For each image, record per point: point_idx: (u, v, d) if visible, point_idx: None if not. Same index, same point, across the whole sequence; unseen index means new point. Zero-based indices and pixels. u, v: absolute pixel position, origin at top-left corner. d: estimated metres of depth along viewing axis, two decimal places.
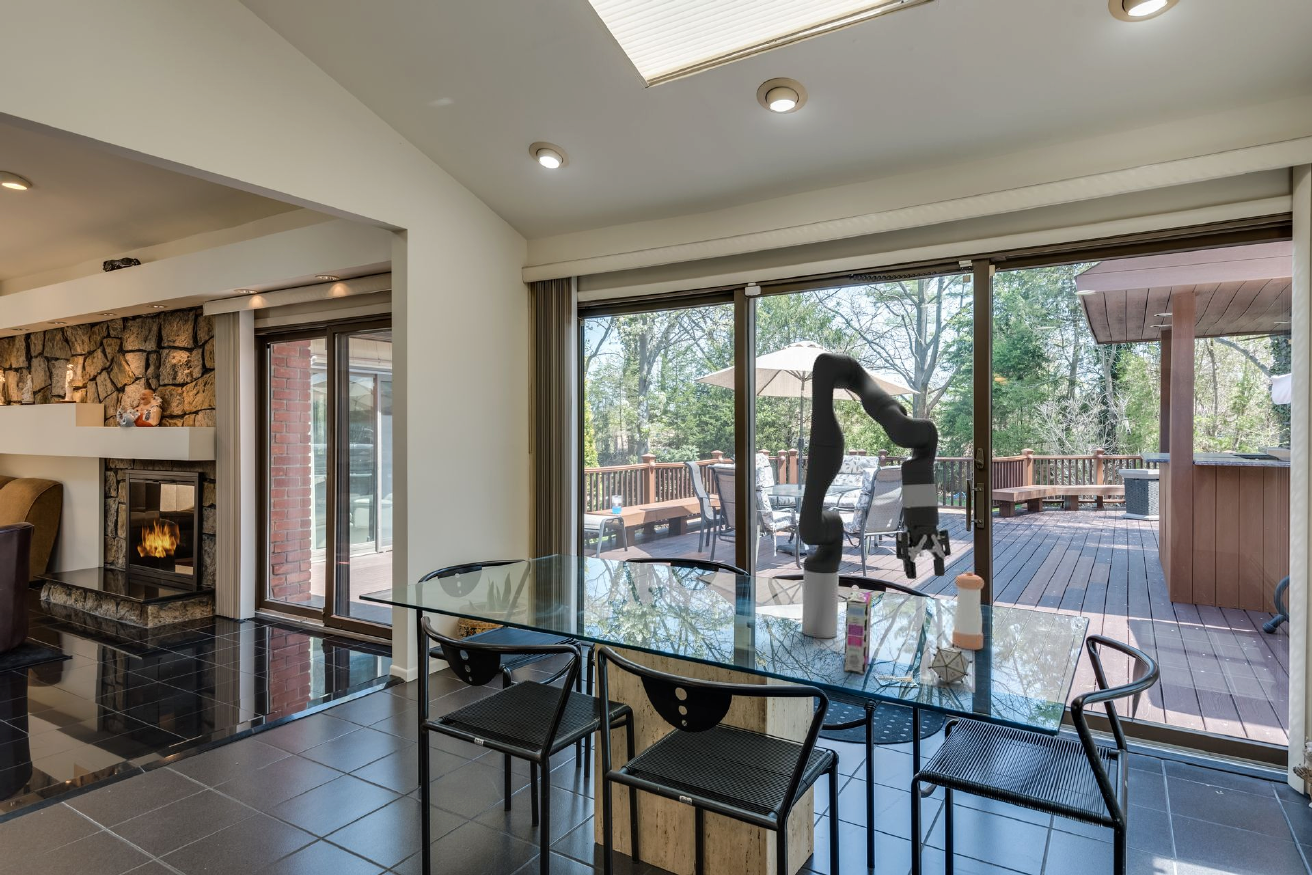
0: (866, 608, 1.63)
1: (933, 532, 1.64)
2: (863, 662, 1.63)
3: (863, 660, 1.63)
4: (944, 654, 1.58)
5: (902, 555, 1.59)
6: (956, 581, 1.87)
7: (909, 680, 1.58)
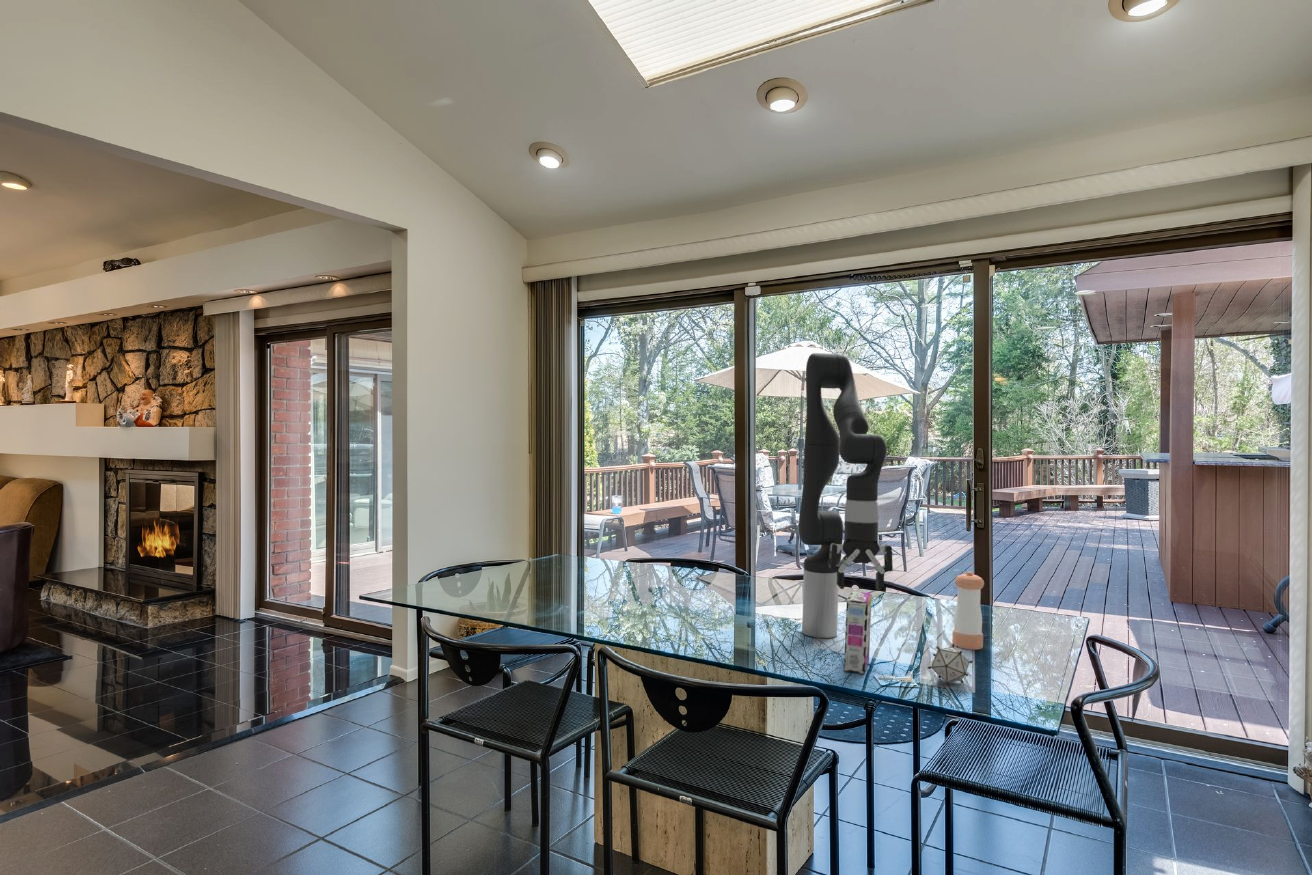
0: (866, 608, 1.63)
1: (872, 547, 1.67)
2: (863, 662, 1.63)
3: (863, 660, 1.63)
4: (944, 654, 1.58)
5: (830, 565, 1.68)
6: (956, 581, 1.87)
7: (909, 680, 1.58)
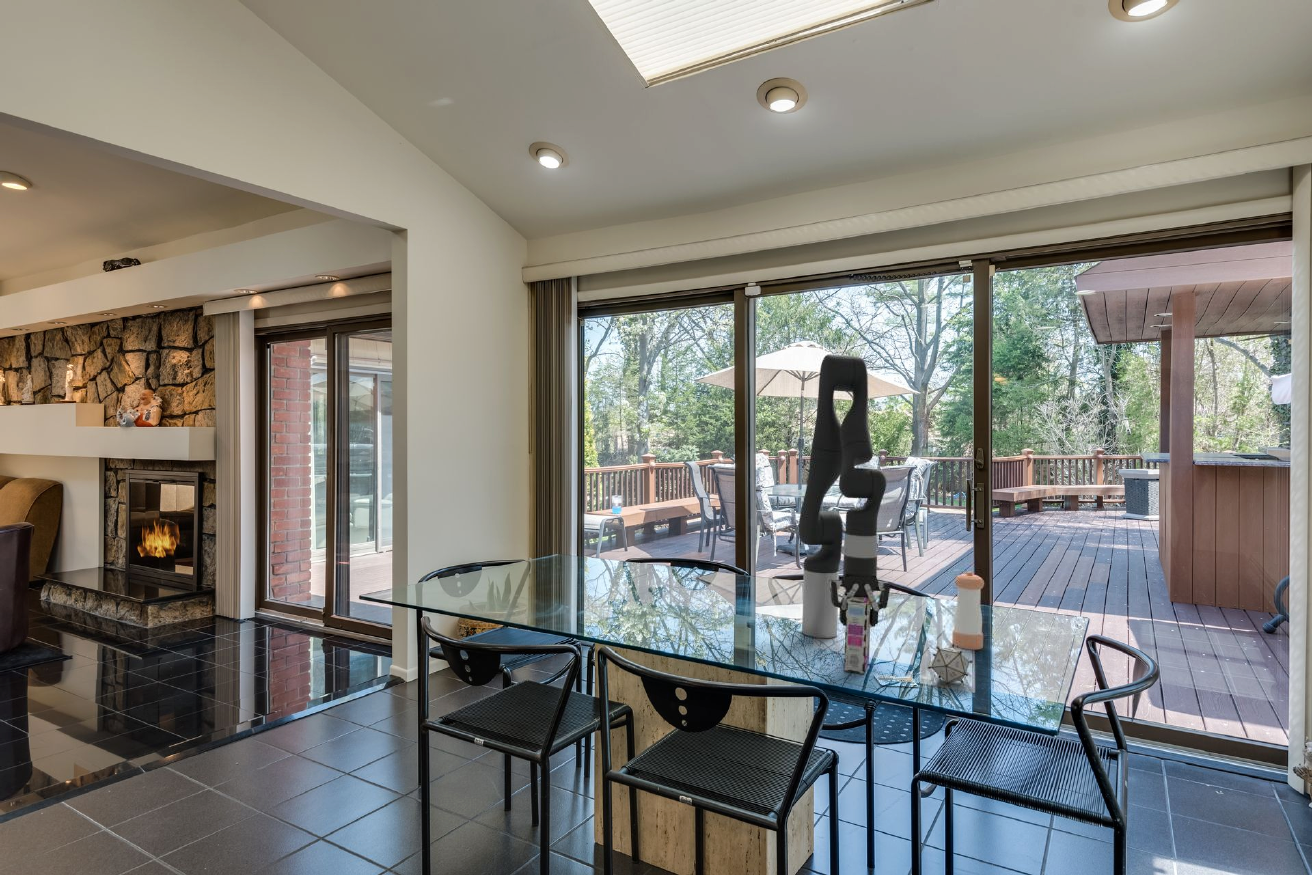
0: (866, 608, 1.63)
1: (871, 581, 1.67)
2: (863, 662, 1.63)
3: (863, 660, 1.63)
4: (944, 654, 1.58)
5: (833, 603, 1.68)
6: (956, 581, 1.87)
7: (909, 680, 1.58)
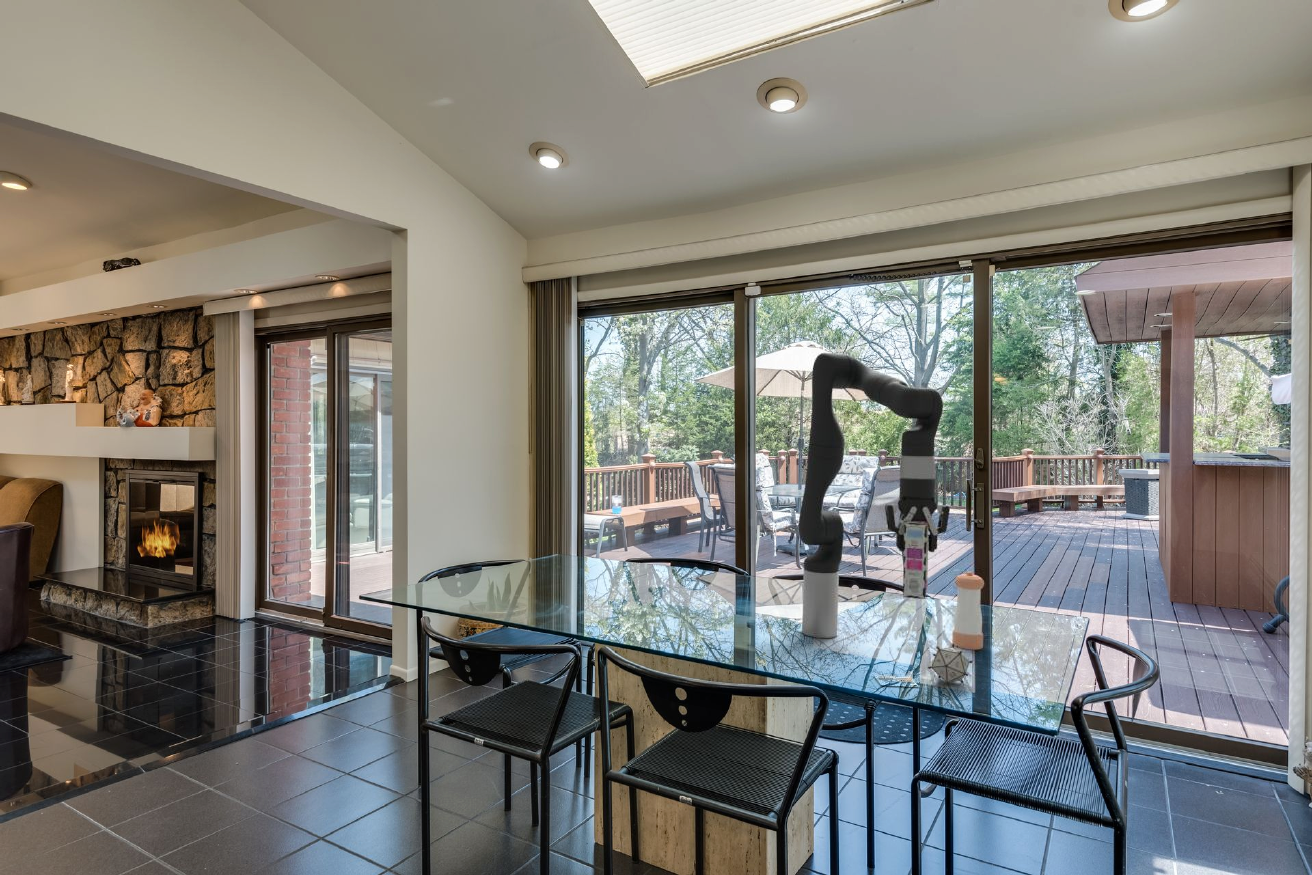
0: (925, 530, 1.56)
1: (929, 504, 1.61)
2: (923, 586, 1.56)
3: (923, 584, 1.56)
4: (944, 654, 1.58)
5: (889, 528, 1.62)
6: (956, 581, 1.87)
7: (909, 680, 1.58)
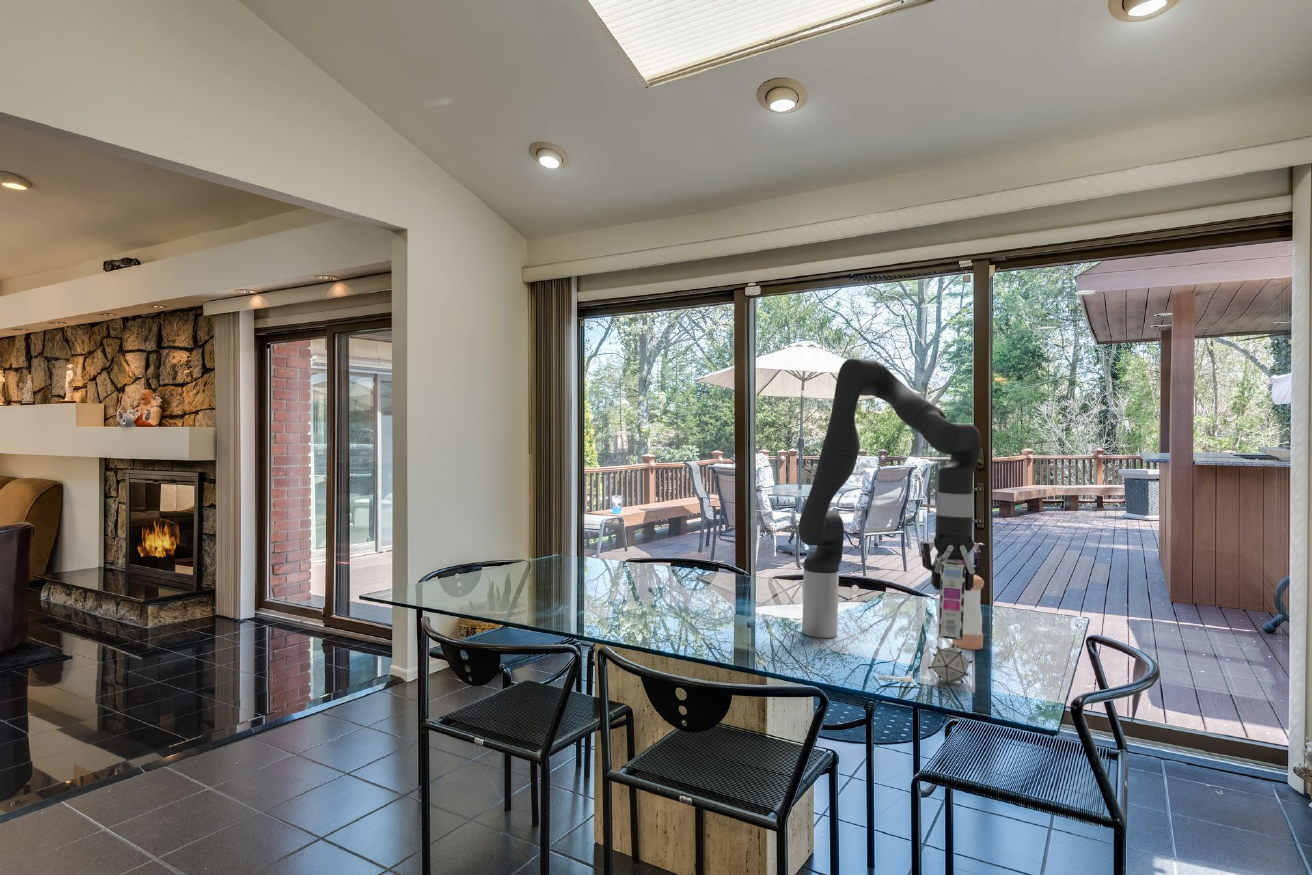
0: (964, 570, 1.53)
1: (966, 542, 1.57)
2: (960, 627, 1.53)
3: (960, 625, 1.53)
4: (944, 654, 1.58)
5: (925, 566, 1.58)
6: None
7: (909, 680, 1.58)
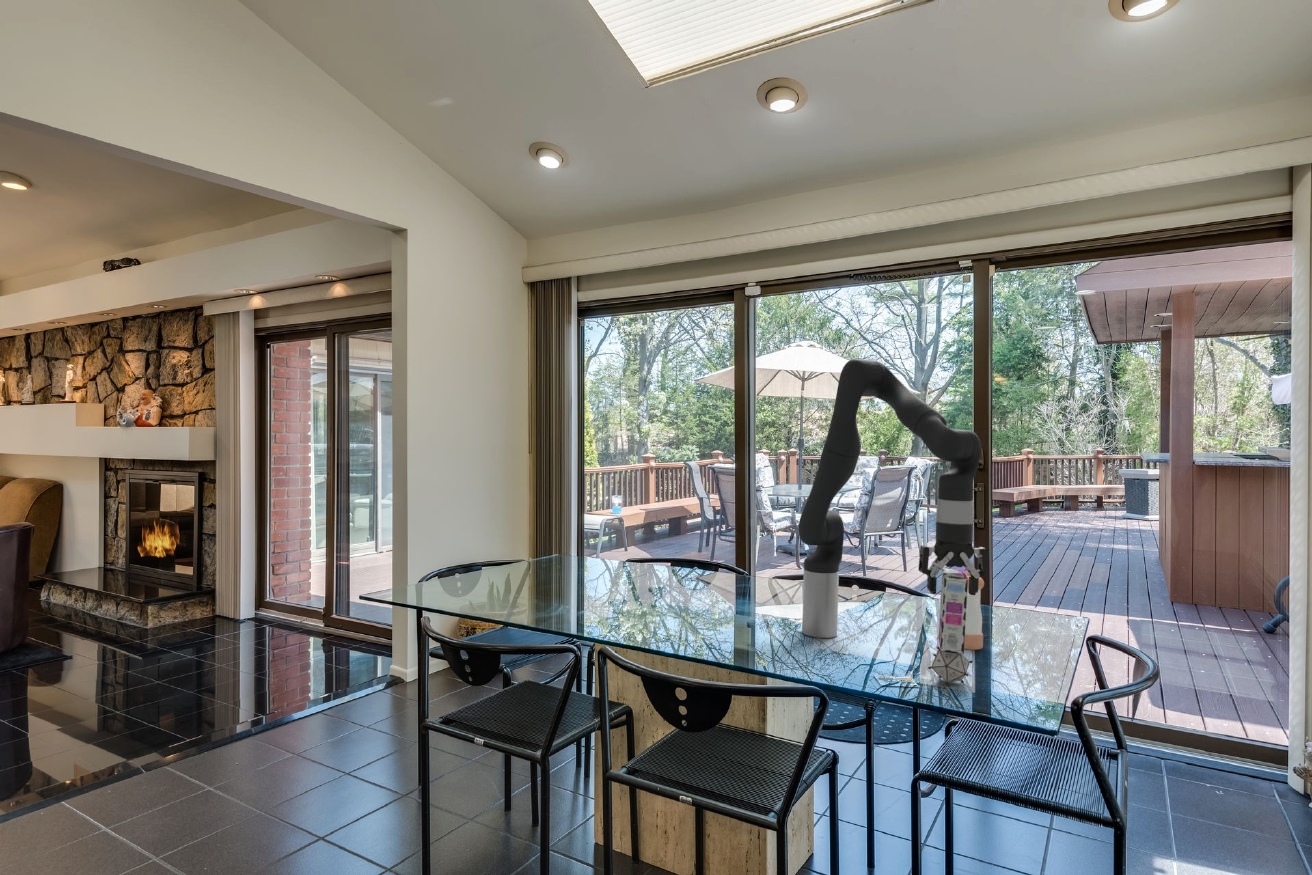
0: (966, 584, 1.53)
1: (966, 550, 1.57)
2: (962, 642, 1.53)
3: (962, 639, 1.53)
4: (944, 654, 1.58)
5: (921, 569, 1.58)
6: None
7: (909, 680, 1.58)
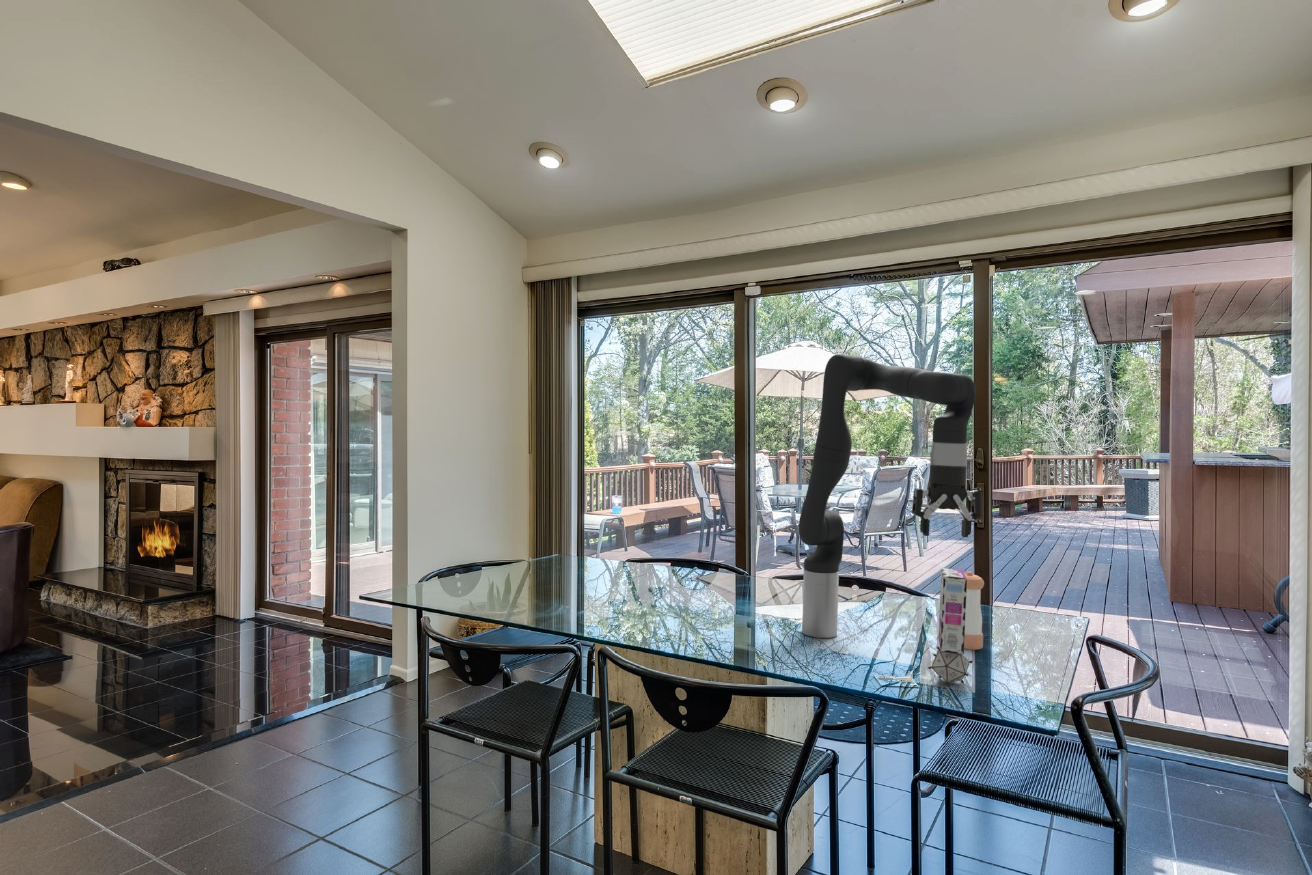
0: (965, 584, 1.53)
1: (959, 492, 1.59)
2: (962, 642, 1.53)
3: (962, 640, 1.53)
4: (944, 654, 1.58)
5: (914, 511, 1.60)
6: None
7: (909, 680, 1.58)
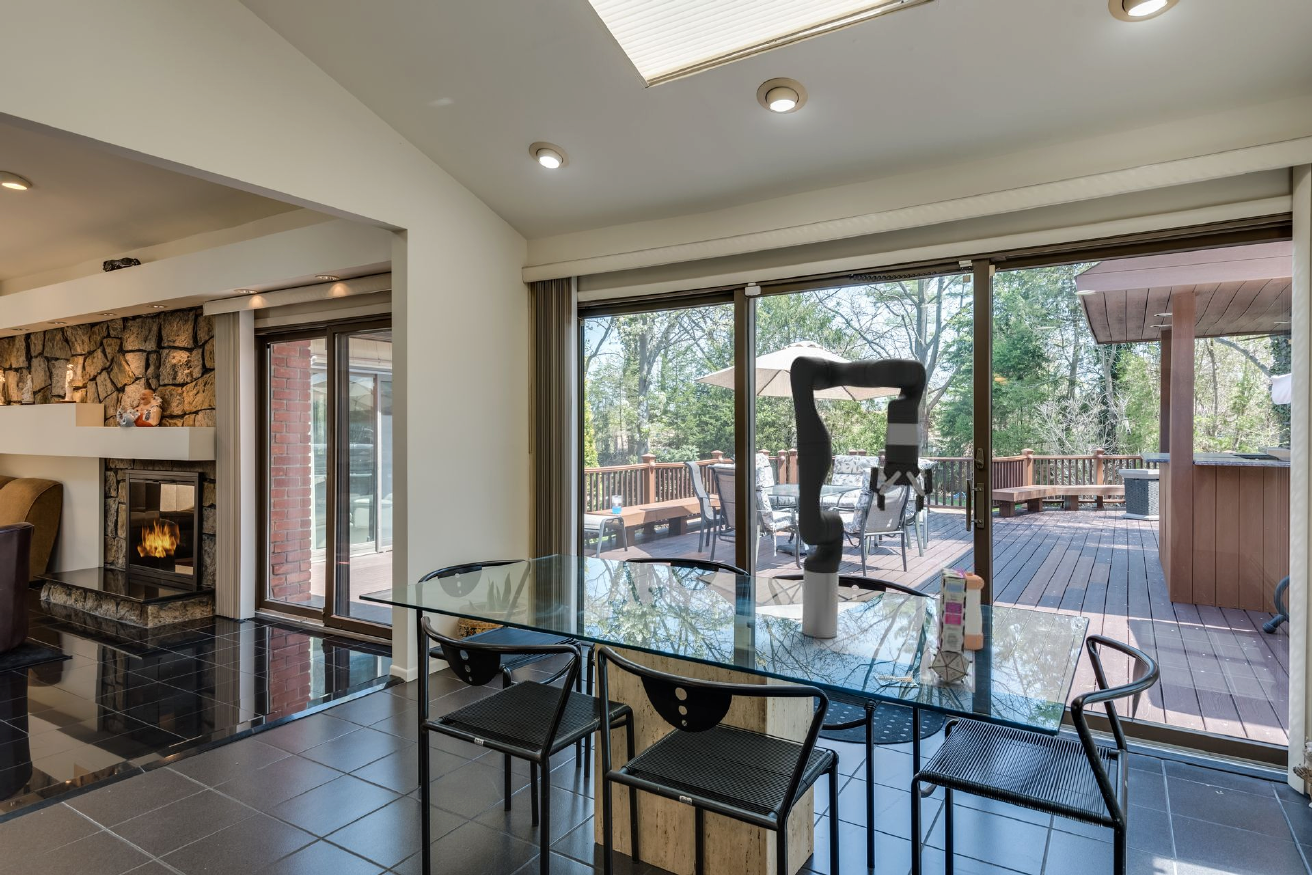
0: (965, 584, 1.53)
1: (912, 470, 1.70)
2: (962, 642, 1.53)
3: (962, 640, 1.53)
4: (944, 654, 1.58)
5: (871, 488, 1.71)
6: None
7: (909, 680, 1.58)
